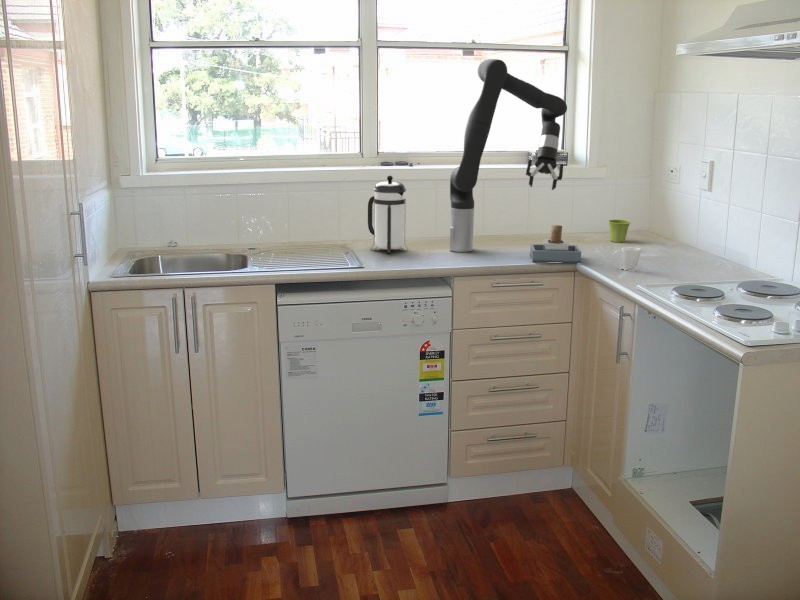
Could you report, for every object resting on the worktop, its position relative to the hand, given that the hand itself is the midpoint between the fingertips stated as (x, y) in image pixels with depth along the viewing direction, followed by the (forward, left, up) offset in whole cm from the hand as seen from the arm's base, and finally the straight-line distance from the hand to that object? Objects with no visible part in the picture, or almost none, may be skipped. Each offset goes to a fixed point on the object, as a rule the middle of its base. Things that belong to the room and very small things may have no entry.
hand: (542, 187), depth 314 cm
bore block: (+5, -16, -25) cm, 30 cm away
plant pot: (+36, +25, -26) cm, 51 cm away
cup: (+29, -30, -26) cm, 49 cm away
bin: (+5, -16, -25) cm, 30 cm away
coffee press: (-61, -6, -26) cm, 67 cm away
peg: (+5, -16, -24) cm, 29 cm away
